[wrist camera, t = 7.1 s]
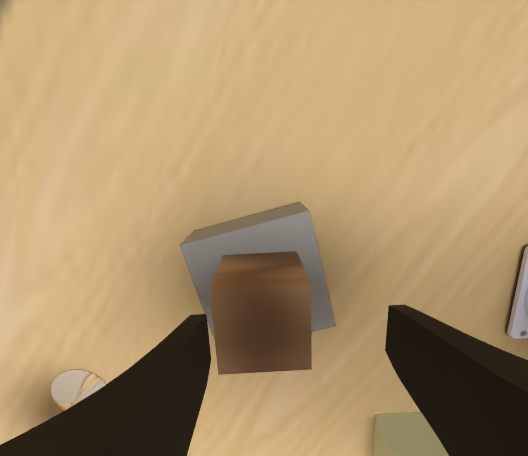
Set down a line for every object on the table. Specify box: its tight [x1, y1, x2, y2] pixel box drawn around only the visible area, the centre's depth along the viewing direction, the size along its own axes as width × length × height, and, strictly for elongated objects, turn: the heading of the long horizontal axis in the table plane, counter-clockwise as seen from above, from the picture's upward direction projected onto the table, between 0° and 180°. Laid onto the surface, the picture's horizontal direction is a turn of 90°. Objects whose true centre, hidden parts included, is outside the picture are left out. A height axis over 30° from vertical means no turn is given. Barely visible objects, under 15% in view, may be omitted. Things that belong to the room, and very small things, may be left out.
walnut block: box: [210, 251, 311, 374], centre depth 14 cm, size 4×4×4 cm
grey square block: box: [180, 202, 336, 340], centre depth 18 cm, size 8×8×4 cm
